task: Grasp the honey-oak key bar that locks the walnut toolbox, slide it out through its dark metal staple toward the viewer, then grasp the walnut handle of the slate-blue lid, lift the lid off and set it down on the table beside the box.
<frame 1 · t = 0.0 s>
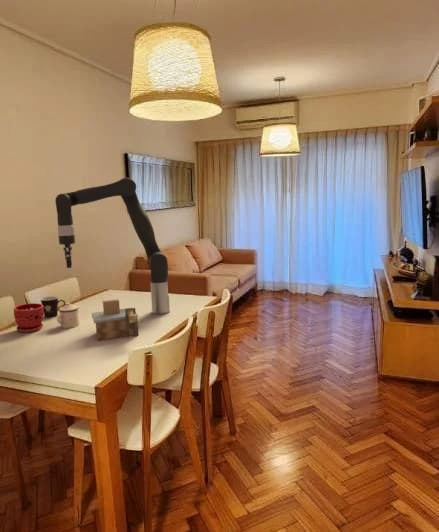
hand: (69, 266, 196), 29 cm above the table, fingers open, 8 cm apart
plant pot: (31, 330, 191), on the table
coffee mug: (53, 316, 213), on the table
key: (131, 315, 173), point 11 cm above the table, slide at 0.0 cm
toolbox: (117, 334, 182), on the table
lid: (114, 316, 182), point 8 cm above the table, touching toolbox
teacup with lid: (68, 326, 195), on the table
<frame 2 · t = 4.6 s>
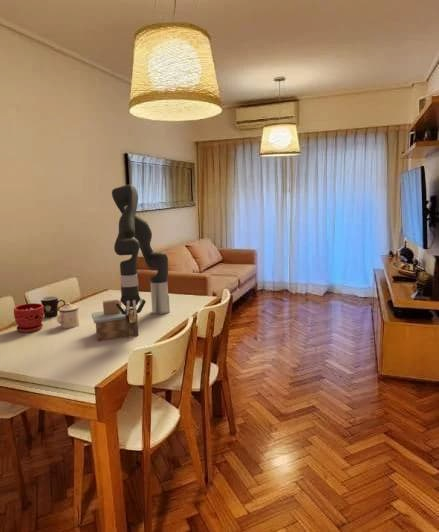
hand: (131, 322, 172), 8 cm above the table, fingers closed on key
key: (131, 315, 173), point 11 cm above the table, slide at 0.0 cm, touching gripper
everything else where it was.
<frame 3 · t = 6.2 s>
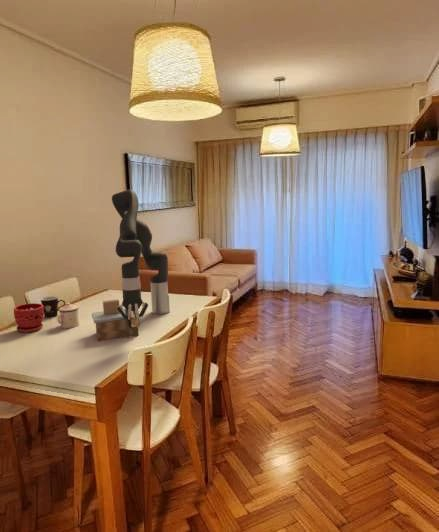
hand: (133, 326, 166), 8 cm above the table, fingers closed
key: (133, 319, 167), point 11 cm above the table, slide at 6.5 cm
everything else where it was.
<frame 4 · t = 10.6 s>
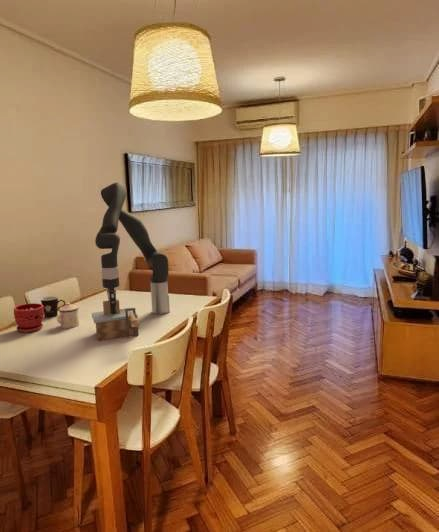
hand: (112, 311, 181), 10 cm above the table, fingers open, 5 cm apart
lid: (114, 316, 182), point 8 cm above the table, touching gripper, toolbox
everything else where it was.
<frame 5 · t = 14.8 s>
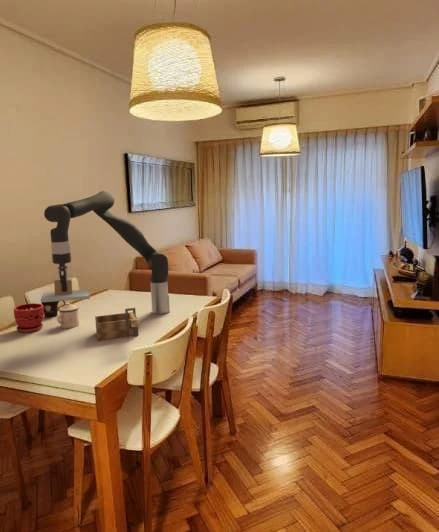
hand: (64, 290, 172), 23 cm above the table, fingers closed on lid, 3 cm apart
lid: (66, 297, 172), point 20 cm above the table, touching gripper
everything else where it was.
when the fingers open (3 cm above the table, at t = 18.5 s): lid drops 1 cm, on the table.
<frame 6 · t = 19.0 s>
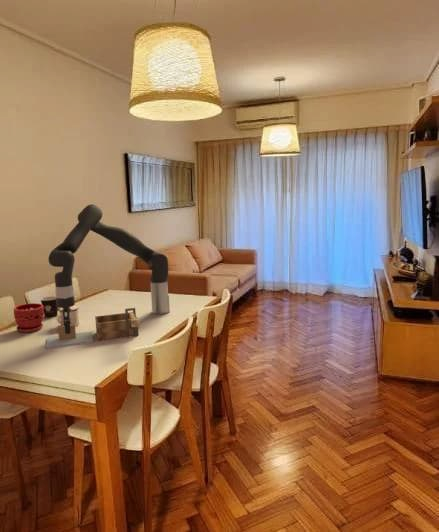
hand: (68, 330, 175), 4 cm above the table, fingers open, 8 cm apart
lid: (70, 341, 175), on the table
everything else where it was.
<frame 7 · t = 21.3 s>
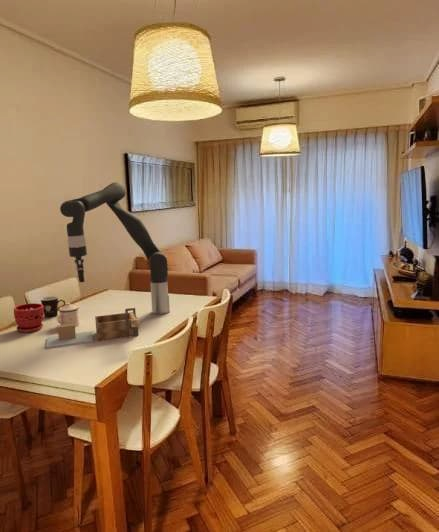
hand: (81, 280, 179), 26 cm above the table, fingers open, 8 cm apart
nothing on the table moved.
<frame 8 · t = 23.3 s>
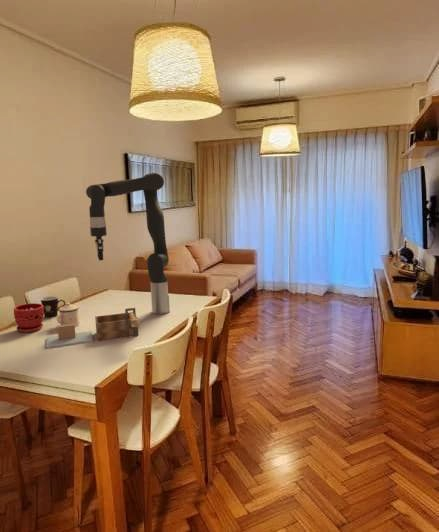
hand: (100, 258, 193), 33 cm above the table, fingers open, 8 cm apart
nothing on the table moved.
at the end: key slide at 6.5 cm; lid inside the target area (0.4 cm from its centre), on the table; lid tilted 0° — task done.
